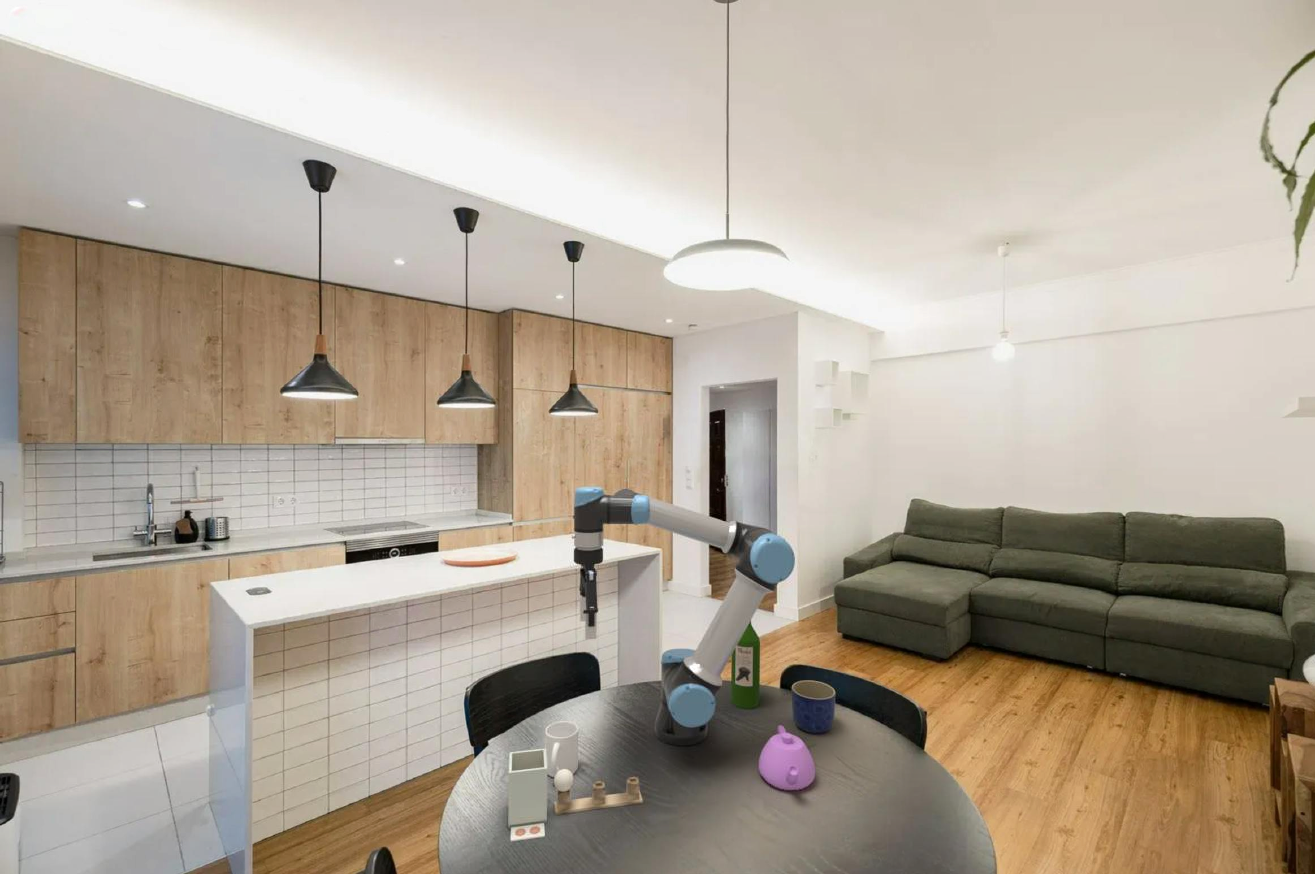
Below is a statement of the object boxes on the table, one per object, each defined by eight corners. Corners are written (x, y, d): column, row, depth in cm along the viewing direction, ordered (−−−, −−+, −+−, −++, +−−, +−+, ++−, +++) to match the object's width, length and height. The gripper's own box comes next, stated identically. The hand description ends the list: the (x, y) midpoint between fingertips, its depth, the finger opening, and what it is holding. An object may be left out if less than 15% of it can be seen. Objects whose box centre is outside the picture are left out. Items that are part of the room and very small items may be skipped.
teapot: (764, 803, 135) (765, 758, 135) (754, 755, 155) (754, 715, 155) (824, 806, 134) (825, 760, 134) (806, 757, 154) (807, 717, 154)
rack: (639, 793, 138) (639, 774, 138) (642, 802, 135) (642, 783, 135) (554, 804, 134) (554, 785, 134) (555, 814, 130) (555, 795, 130)
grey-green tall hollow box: (545, 799, 135) (545, 748, 135) (546, 822, 127) (547, 768, 127) (509, 804, 134) (509, 752, 133) (508, 828, 126) (508, 772, 125)
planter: (800, 711, 179) (801, 676, 179) (840, 724, 172) (841, 687, 172) (784, 728, 169) (784, 691, 169) (826, 742, 162) (826, 703, 162)
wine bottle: (730, 707, 181) (731, 603, 181) (731, 694, 190) (732, 595, 190) (759, 710, 180) (760, 605, 179) (759, 697, 189) (760, 597, 188)
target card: (544, 824, 127) (544, 822, 127) (544, 836, 123) (544, 834, 123) (511, 828, 125) (511, 827, 125) (510, 841, 121) (510, 839, 121)
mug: (568, 790, 139) (569, 747, 139) (535, 787, 140) (535, 744, 140) (581, 761, 151) (581, 722, 151) (550, 759, 152) (551, 720, 152)
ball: (572, 782, 135) (572, 763, 135) (574, 794, 131) (574, 774, 131) (553, 785, 134) (553, 766, 134) (554, 796, 130) (554, 777, 130)
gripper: (570, 538, 161) (569, 614, 161) (578, 558, 137) (577, 648, 137) (597, 537, 163) (596, 613, 163) (609, 557, 138) (609, 645, 139)
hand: (587, 629), depth 150 cm, fingers open, 13 cm apart
